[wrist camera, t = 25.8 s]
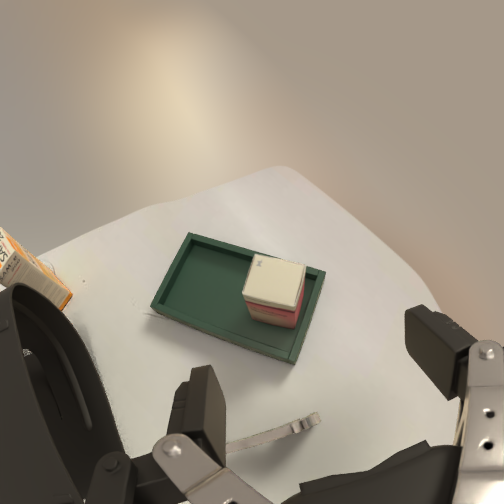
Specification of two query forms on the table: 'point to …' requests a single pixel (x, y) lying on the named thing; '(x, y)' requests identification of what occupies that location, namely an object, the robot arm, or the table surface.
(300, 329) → the tray
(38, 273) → the supplement box
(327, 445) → the table surface
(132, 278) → the table surface
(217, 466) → the robot arm
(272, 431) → the caliper
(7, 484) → the laptop stand
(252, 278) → the small box
